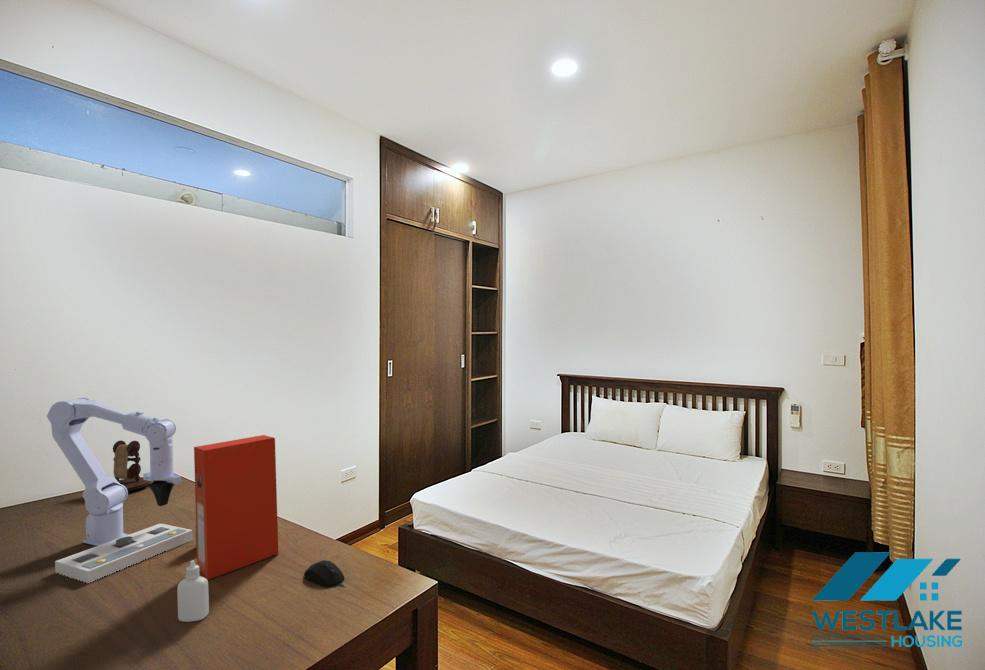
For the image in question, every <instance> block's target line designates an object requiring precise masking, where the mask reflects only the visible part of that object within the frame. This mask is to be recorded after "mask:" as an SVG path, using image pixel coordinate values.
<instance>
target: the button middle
mask: <svg viewBox="0 0 985 670" xmlns="http://www.w3.org/2000/svg"><path fill="white" fill-rule="evenodd" d="M130 544H132V537H130V536H129V537H123V538H120V539H118V540H116V547H118V548H122V547H124V546H127V545H130Z"/></svg>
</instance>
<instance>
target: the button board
mask: <svg viewBox="0 0 985 670" xmlns="http://www.w3.org/2000/svg"><path fill="white" fill-rule="evenodd" d="M160 528H165V531H164V532H161V533H159V534H156V535H153V534H151V531H153V530H156V529H160ZM128 534H129V535H127V536H124V537H129V536H130V537H132V544H130V545H127V546H124V547H122V548H118V547H116V540H118V539H120V538H118V539H116V540H113V541H110V542H107V543H104V544H102V545H99V546H93V547H91V548H88V549H85V550H83V551H80V552H77V553H74V554H72V555H68V556H67V557H64V558H61V559H60V558H59V559H57V560H55V561H54V569H55V572H56V573H55V572H54V573H55V574H57V573H59V574H58V575H61V574H62V575H61V576H64V575H65V576H64V577H67V576H68V577H67V578H71V579H73V578H74V580H76V579H77V581H79V580H80V581H79V582H82V581H83V583H85V582H86V584H88V583H89V584H91V583H94V582H95V580H96V581H98V580H100V578H101V579H103V578H105V577H104V576H106V577H107V575H108V576H110V575H113V574H115V573H117V572H116V571H118V572H120V571H122V570H124V568H125V569H127V568H129V567H128V566H130V567H132V566H134V565H136V563H137V564H138V563H141V561H142V562H144V561H146V560H149V559H151V558H154V557H156V556H158V555H160V553H161V554H163V553H165V552H164V551H166V552H168V551H170V550H173V549H175V548H177V547H179V546H182V545H184V544H187V543H190V542H192V541H194V539H193V529H190V528H184V527H180V526H175V525H170V524H166V523H157V524H154V525H152V526H150V527H146V528H144V529H141V530H138V531H136V532H132V533H128ZM121 538H123V537H121ZM162 552H163V553H162ZM91 554H93V555H95V558H92V559H90V560H87V561H85V562H82V563H78V562H77V559H78V558H80V557H82V556H85V555H91ZM157 554H158V555H157ZM155 555H156V556H155ZM153 556H154V557H153ZM150 557H151V558H150ZM148 558H149V559H148ZM145 559H146V560H145ZM143 560H144V561H143ZM133 564H134V565H133ZM131 565H132V566H131ZM126 567H127V568H126ZM119 570H120V571H119ZM114 572H115V573H114ZM112 573H113V574H112ZM109 574H110V575H109ZM102 577H103V578H102ZM97 579H98V580H97ZM93 581H94V582H93ZM90 582H91V583H90Z"/></svg>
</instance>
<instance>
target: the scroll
mask: <svg viewBox="0 0 985 670" xmlns="http://www.w3.org/2000/svg"><path fill="white" fill-rule="evenodd" d="M140 448H141V445H140V442H139V441H137V440H131V441H130V442H129V443H128V444H127V443H126V442H125V441H124V440H117V441H115V443H114V444H113V445H112V452H113V453H114V457H113V459H112V460H113V476H114V477H113V478H115V479H116V480H117V481H118V482H119V483H120V484H121V485H123V486H125V487H126V489H127V491H128V493H129V491H133V490H138V489H140V488H145V487H148V488H149V486H148V484H150V483H151V481H147V480H143V476H140V474H141V470H142V467H141V465H140V462H141V457H140V453H139V452H140ZM129 462H134V463H132V464H131V465H130V466H129V467H128V463H129Z"/></svg>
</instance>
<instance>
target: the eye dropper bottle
mask: <svg viewBox="0 0 985 670" xmlns="http://www.w3.org/2000/svg"><path fill="white" fill-rule="evenodd" d="M176 589H177V591H176V592H177V619H178V621H180V622H183V623H184V622H186V623H190V622H198V621H201V620H202V621H203V620H204V619H205V618H206V617H207V616H208V615H209V613H210V603H209V602H210V599H209V596H210V595H209V581H208V580H207V579H206V578H205V577H204V576H202V575H200V573H199V565H197V564H196V561H195V560H191V561H190V562H189V566H188V567H186V568H185V578H184V579H182V580H181V581H180V582H179V583H178V585H177V588H176Z"/></svg>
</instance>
